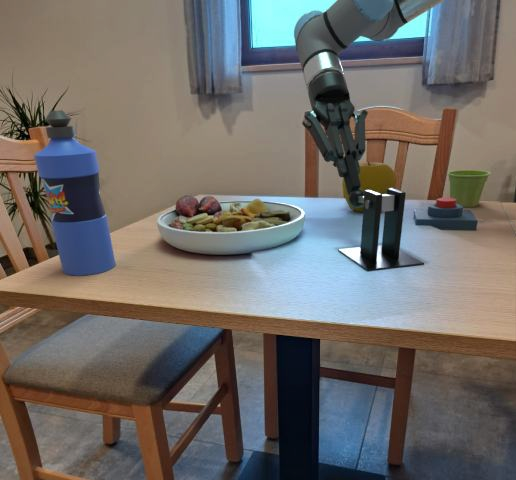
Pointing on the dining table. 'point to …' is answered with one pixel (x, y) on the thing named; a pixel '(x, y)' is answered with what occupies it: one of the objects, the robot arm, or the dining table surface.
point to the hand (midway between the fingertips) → (354, 190)
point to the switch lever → (358, 200)
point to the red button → (446, 203)
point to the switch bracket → (389, 251)
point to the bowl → (229, 225)
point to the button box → (446, 218)
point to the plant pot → (467, 186)
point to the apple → (373, 180)
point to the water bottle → (74, 200)
